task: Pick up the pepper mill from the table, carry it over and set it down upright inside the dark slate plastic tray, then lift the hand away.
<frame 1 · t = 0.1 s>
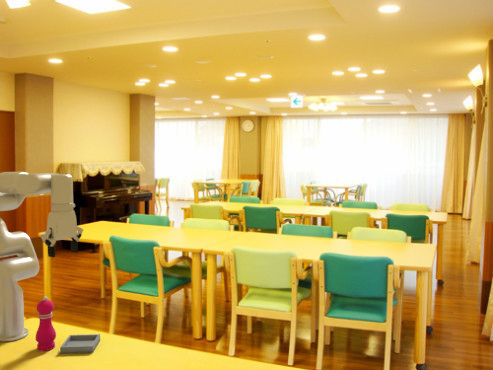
hand: (63, 254, 173), 37 cm above the table, tool pointing down, fingers open, 9 cm apart
tray: (81, 346, 181), on the table
pepper mill: (46, 348, 180), on the table
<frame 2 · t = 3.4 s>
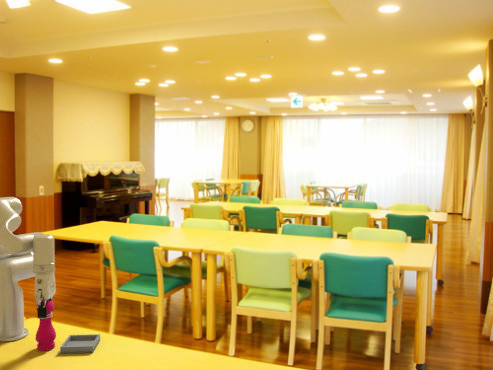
hand: (45, 314, 180), 13 cm above the table, tool pointing down, fingers closed on pepper mill, 6 cm apart
pepper mill: (46, 348, 180), on the table, touching gripper
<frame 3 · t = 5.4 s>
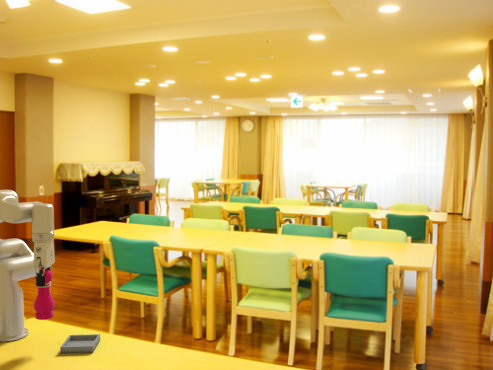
hand: (43, 283, 179), 25 cm above the table, tool pointing down, fingers closed on pepper mill, 6 cm apart
pepper mill: (44, 317, 180), point 12 cm above the table, touching gripper
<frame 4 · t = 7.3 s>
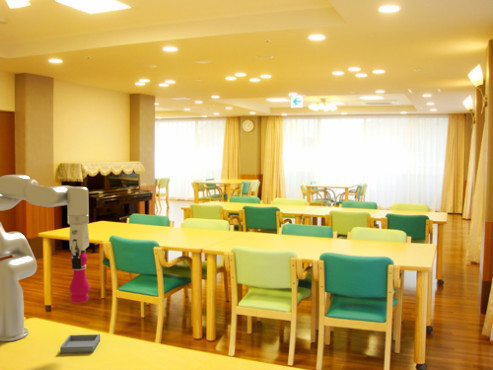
hand: (79, 266, 179), 31 cm above the table, tool pointing down, fingers closed on pepper mill, 6 cm apart
pepper mill: (79, 300, 180), point 18 cm above the table, touching gripper
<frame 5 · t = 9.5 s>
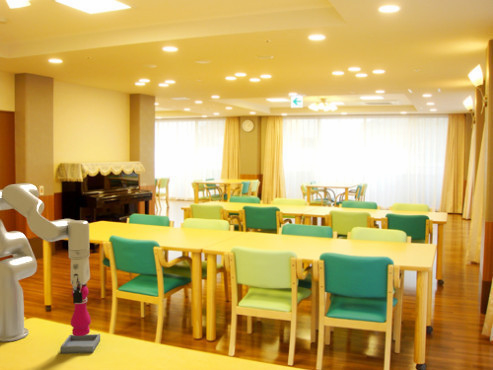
hand: (80, 299, 180), 18 cm above the table, tool pointing down, fingers closed on pepper mill, 6 cm apart
pepper mill: (81, 333, 181), point 5 cm above the table, touching gripper
when the fingers open (15 cm above the table, at t = 11.2 s): pepper mill stays where it is, resting on tray.
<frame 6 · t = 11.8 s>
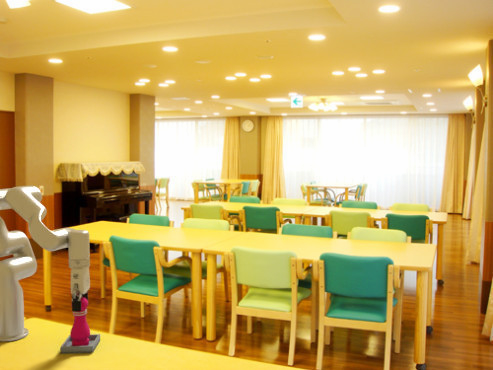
hand: (80, 306, 180), 16 cm above the table, tool pointing down, fingers open, 9 cm apart
pepper mill: (80, 345, 181), point 1 cm above the table, touching tray
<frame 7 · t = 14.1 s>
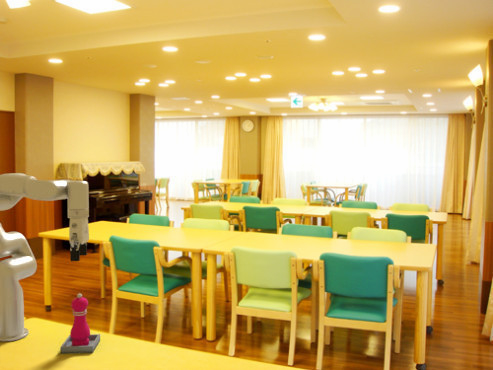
hand: (78, 258, 180), 34 cm above the table, tool pointing down, fingers open, 9 cm apart
nothing on the table moved.
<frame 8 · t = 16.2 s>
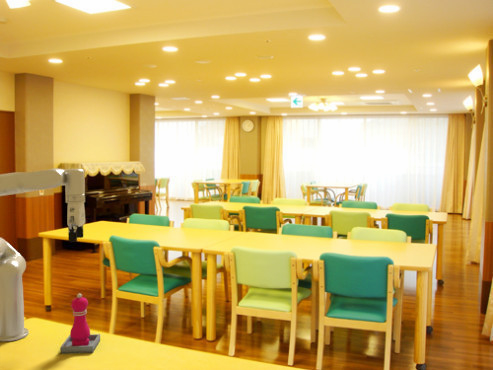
hand: (76, 239, 196), 38 cm above the table, tool pointing down, fingers open, 9 cm apart
nothing on the table moved.
at the end: pepper mill 0.2 cm off-centre on the tray, point 0.6 cm above the tray's base; pepper mill tilted 0°; the gripper is holding nothing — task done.
